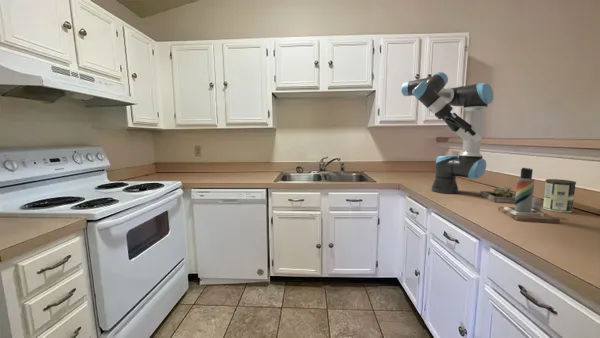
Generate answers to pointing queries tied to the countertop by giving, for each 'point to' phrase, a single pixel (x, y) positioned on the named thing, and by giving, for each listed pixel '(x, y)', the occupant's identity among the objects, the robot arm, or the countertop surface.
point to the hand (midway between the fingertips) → (473, 139)
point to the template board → (533, 216)
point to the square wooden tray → (498, 199)
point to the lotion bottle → (524, 191)
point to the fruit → (501, 192)
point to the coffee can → (559, 195)
